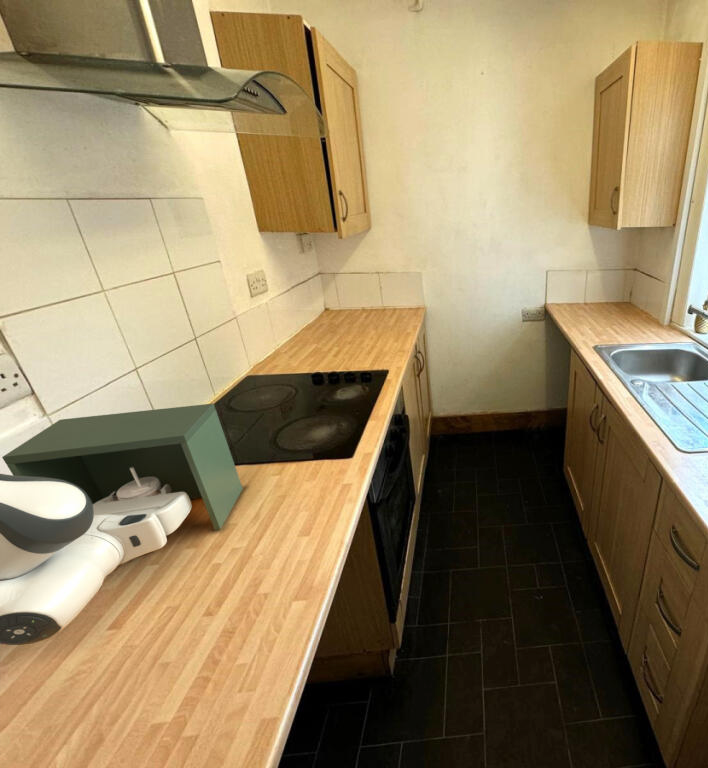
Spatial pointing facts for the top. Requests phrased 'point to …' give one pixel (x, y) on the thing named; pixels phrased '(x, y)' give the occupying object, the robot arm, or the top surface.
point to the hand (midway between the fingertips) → (143, 490)
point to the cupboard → (137, 454)
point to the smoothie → (138, 487)
